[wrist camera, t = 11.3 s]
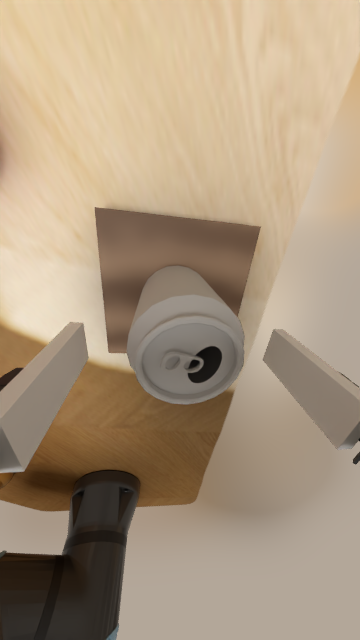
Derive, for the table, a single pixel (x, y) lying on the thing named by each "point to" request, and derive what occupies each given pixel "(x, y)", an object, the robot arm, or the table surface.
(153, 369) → the can
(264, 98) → the table surface
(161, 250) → the walnut plinth
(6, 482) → the ornamental finial
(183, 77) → the table surface
